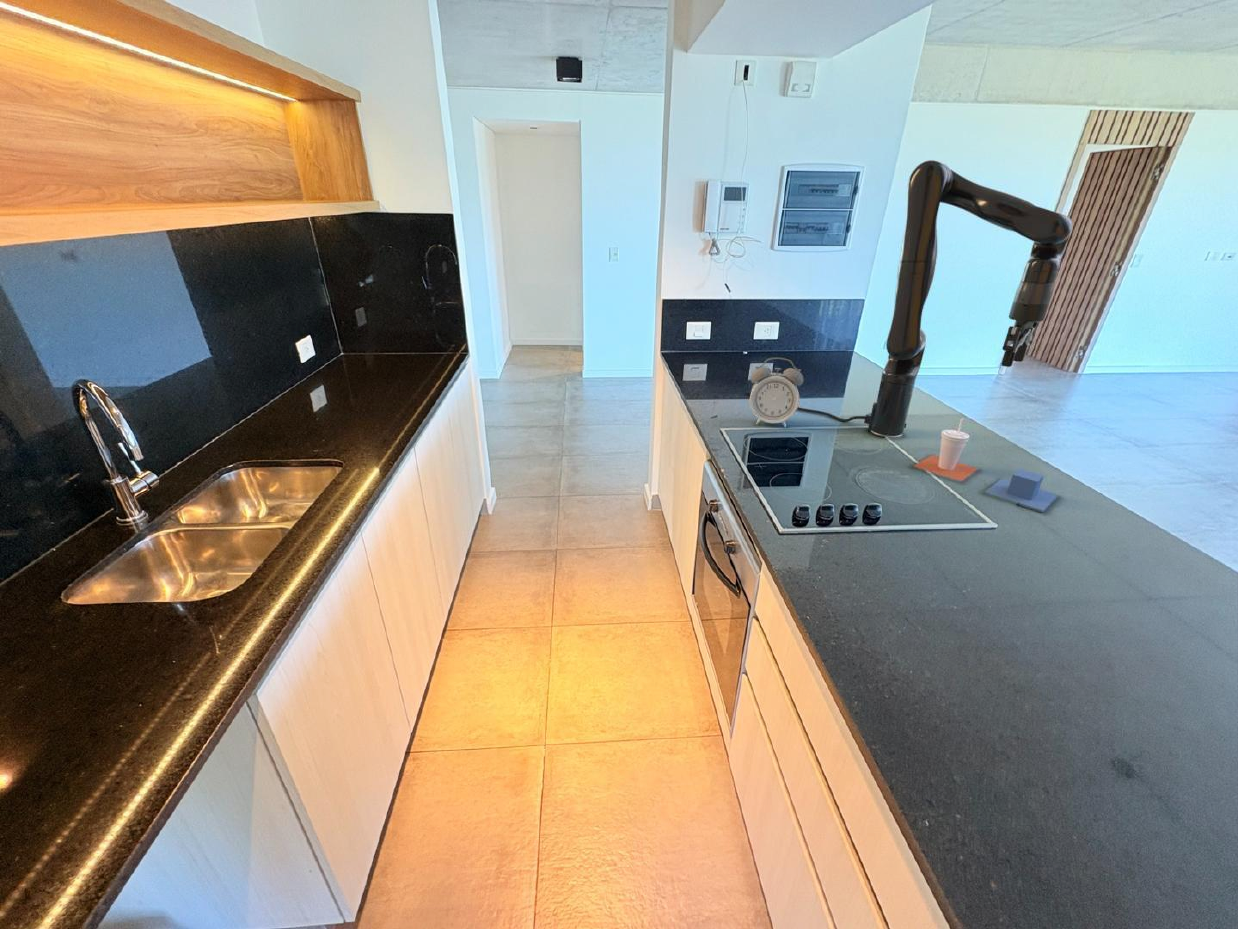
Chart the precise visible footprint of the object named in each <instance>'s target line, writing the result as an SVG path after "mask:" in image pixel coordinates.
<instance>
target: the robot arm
mask: <svg viewBox="0 0 1238 929" xmlns="http://www.w3.org/2000/svg"><path fill="white" fill-rule="evenodd" d="M906 188H907V189H906V190H907V194H906V218H905V225H904V231H903V236H902V240H901V247H900V252H899V258H898V264H897V272H896V282H895V292H894V306H893V315H892V318H891V323H890V328H889V331H888V334H887V339H886V344H885V346H886V347H885V348H886V350H887V354H888V356H887V360H886V362H885V363H886V364H885V366H884V368H883V370H882V374H881V377H880V383H879V387H878V393H877V397H876V401H874V402H873V403H872V408H871V412H869V413H867V414H865V415H855V416H851V417H849V418H841V417H838V416H836V415H834V414H832V413H830V412H826V411H822V410H817V409H811V408H803V407H799V406H798V408H797V410H796V411H801V412H807V413H813V414H819V415H824V416H826V417H830V418H832V419H835V420H836V421H839V422H843V423H848V422H851V421H853V420H864V421H863V423H864V424H867V425H868V426H867V432H869V433H871V434H872V435H874V436H877V437H880V438H883V439H884V438H900V437H902V436H904V430H905V429H906V427H907V423H906V421H907V418H908V413H909V409H910V406H911V401H912V397H913V392H914V388H915V384H916V379H917V376H918V373H919V371H920V369H921V365H922V361H923V357H924V354H925V350H926V345H927V336H926V333H925V331H924V330H923V329H922V316H923V311H924V308H925V304H926V302H927V299H928V296H929V294H930V291H931V288H932V286H933V285H932V284H933V282H934V278H935V274H936V267H937V260H938V250H939V248H938V247H939V244H938V243H939V242H938V226H937V225H938V224H937V223H938V214H939V209H940V205H941V203H942V204H946V205H950V206H953V207H955V208H959V209H960V210H963V211H965V212H967V213H969V214H971V215H973V216H975V218H978V219H980V220H982V221H984V222H987V223H988V224H991V225H993V226H996V227H998V228H999V229H1000V228H1001V229H1003V230H1005V231H1007V232H1008V231H1009V232H1012V233H1015V234H1018V235H1020V236H1021V237H1023V238H1026V239H1028V240H1030V241H1032V242H1033V243H1032V246H1031V249H1030V254H1029V257H1028V259H1027V260H1026V262H1025V265H1024V267H1023V270H1022V275H1021V277H1020V281H1019V284H1018V286H1017V288H1016V291H1015V293H1014V297H1013V301H1012V304H1011V307H1010V310H1009V314H1008V318H1009V320H1012V321H1015V323H1014V326H1013V325H1012V326H1009V327H1008V329H1007V333H1006V336H1005V339H1004V342H1003V345H1002V351H1004V354H1003V357H1002V361H1001V366H1002V367H1006V368H1011V367H1012V366H1013V363H1014V362H1017V363H1018V362H1019V363H1021V362H1023V361H1024V359H1025V356H1026V352H1027V350H1028V348H1029V347H1030V345H1032V344H1033V341H1034V338H1035V334H1036V331H1037V328H1038V325H1039V323H1040V322H1043V321H1045V318H1046V315H1047V312H1048V310H1049V306H1050V302H1051V299H1052V296H1053V293H1054V287H1055V283H1056V281H1057V277H1058V274H1059V271H1060V268H1061V261H1062V257H1063V255H1064V252H1065V250H1066V247H1067V245H1068V243H1069V239H1070V237H1071V234H1072V232H1073V226H1074V224H1073V221H1072V219H1071V218H1070V217H1069V216H1067V215H1066V214H1063V213H1060V212H1056V211H1053V210H1050V209H1046V208H1044V207H1041V206H1037V205H1035V204H1034V203H1033V202H1031V201H1028V200H1026V199H1023V198H1021V197H1018V196H1016V195H1013V194H1011V193H1008V192H1006V191H1002V190H997V189H995V188H991V187H989V186H985V185H982V184H979V183H977V182H974V181H972V180H970V179H967V178H966V177H964V176H962V175H961V174H959V173H957V172H956V171H954V170H953V169H951V168H950V167H949V166H948V165H947V164H946V163H944V162H942V161H940V160H934V159H929V160H925V161H923V162H920V164H918V165H917V166H916V167H915V168H914V169H913V170H912V172H911V173H910V175H909V178H908V182H907V186H906ZM746 394H747V395H749V396H750V395H751V391H746Z"/></svg>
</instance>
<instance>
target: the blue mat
mask: <svg viewBox="0 0 1238 929" xmlns="http://www.w3.org/2000/svg"><path fill="white" fill-rule="evenodd" d="M1010 482H1011V480H1009V479H1007V478H1000V479H999V480H998V481H996V482H995V483H994V484H993V485H991V486H990V487H989V488H988V489H987V490H985V491H984V493H985V494H989V495H992V496H995V497H999V498H1001V499H1005V500H1008V501H1011V502H1014V503H1016V505H1017V506H1020V507H1023V508H1026V509H1029V510H1032V511H1035V512H1039V513H1042V514H1043V513H1044V512H1045V511H1046V510H1047V509H1048V508H1049V507H1050V506H1051V505H1052V504H1053V503H1054V502H1055V501H1056V499H1058V497H1059V494H1056V493H1054V492H1050V491H1046V490H1043V489H1040V488H1039V491H1038V493H1037V495H1036V496H1035V497H1034V498H1033V499H1032V500H1028V499H1025V498H1022V497H1018V496H1015V495H1012V494H1009V493H1007V490H1008V488H1009V485H1010Z"/></svg>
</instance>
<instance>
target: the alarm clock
mask: <svg viewBox="0 0 1238 929" xmlns="http://www.w3.org/2000/svg"><path fill="white" fill-rule="evenodd" d="M771 360H782V361H787V362H789V363H790V364H791V365H792V367H789V368H786V369H784V370H783V372H782V373H780V372H779V371H781V370H782V368H781V367H775V368H774V370H775V371H776V372H773V371H772V369H771V368H770V367H768V366H764V365H765V364H766V363H767V362H768V361H771ZM754 367H755V369H754V370H753V371H752V372H751V374H750V382H751V384H753V385H752V387H751V391H750V392H751V395H749V406H750V410H751V412H752V413H753V415H754V416H755V417H756V418H757V421H756V423H755V424H756V425H758V424H759V423H761V421H762V422H764V423H768V424H781V423H782V425H783V426H784V428H787V424H786V421H788V420H789V419H791V418H792V417H793V416H794V415H795V413H796V412H797V411H798V410H797V408H798V407H799V405H800V393H799V389H798V387H801V386H802V385H803V383H804V376H803V374H802V373H801V371H802V369H801V368H799V369H798V368H797V367H795V365H794V362H793V361H792V360H790V359H788V358H785V357H770V358H767V359H765V360H764V362H763V363H762V364H761V365H759V366H757V365H756V366H754Z"/></svg>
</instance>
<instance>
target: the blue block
mask: <svg viewBox="0 0 1238 929" xmlns="http://www.w3.org/2000/svg"><path fill="white" fill-rule="evenodd" d="M1044 477H1045V475H1043V474H1039V473H1035V472H1031V471H1028V470H1024V469H1021V468H1019V469H1018V470H1017V471H1016V472H1014V473H1013V474H1012V476H1011V479H1010V481H1011V482H1010V485H1009V488H1008V490H1007V493H1009V494H1012V495H1015V496H1018V497H1022V498H1025V499H1028V500H1032V499H1033V498H1034V497H1035V496H1036V495H1037V493H1038V491H1039V489H1040V488H1041V485H1042V482H1043V479H1044Z"/></svg>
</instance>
